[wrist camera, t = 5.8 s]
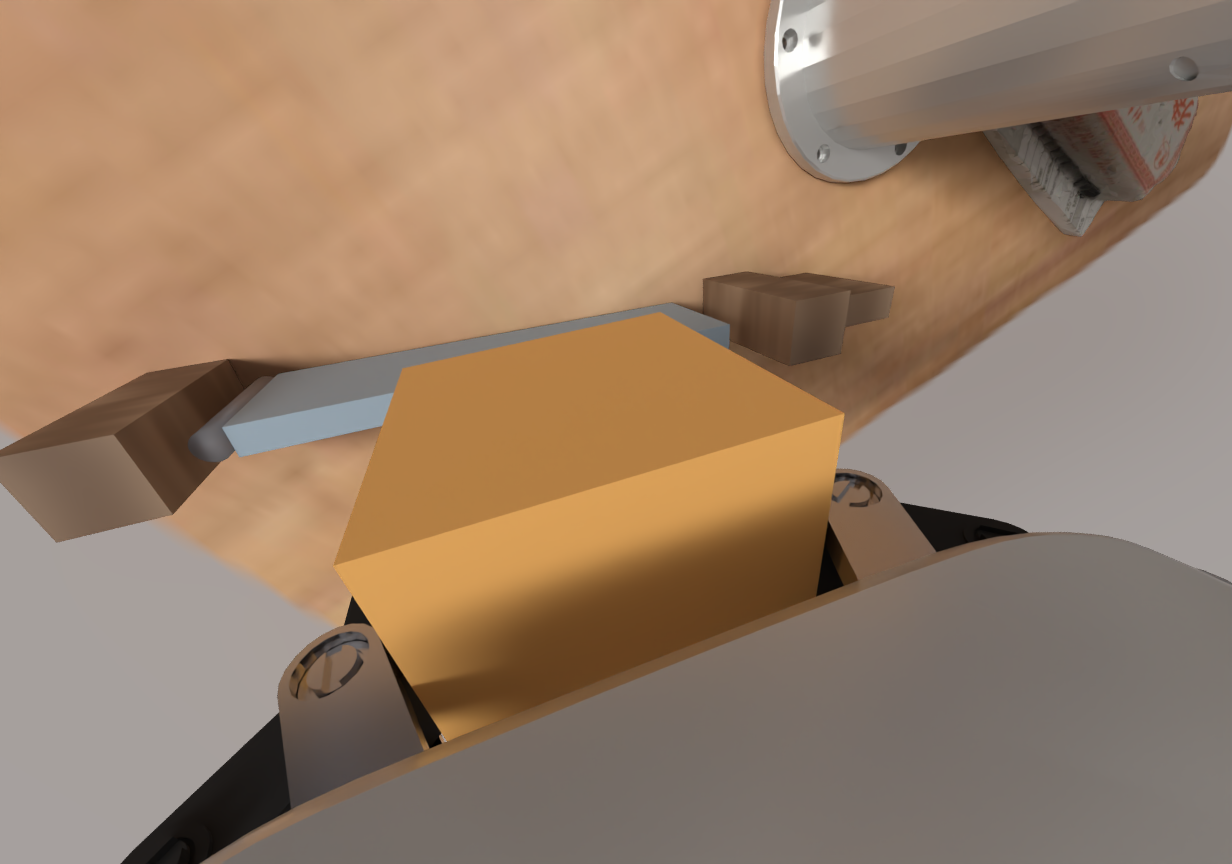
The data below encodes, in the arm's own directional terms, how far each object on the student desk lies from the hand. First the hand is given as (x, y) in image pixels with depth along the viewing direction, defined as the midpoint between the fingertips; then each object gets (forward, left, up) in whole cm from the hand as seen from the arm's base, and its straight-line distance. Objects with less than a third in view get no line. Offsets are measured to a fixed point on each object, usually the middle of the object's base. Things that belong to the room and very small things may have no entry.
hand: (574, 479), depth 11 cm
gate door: (+1, 0, -14) cm, 14 cm away
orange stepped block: (0, +2, -1) cm, 2 cm away
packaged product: (-40, -9, -15) cm, 43 cm away
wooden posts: (-2, 0, -15) cm, 15 cm away
